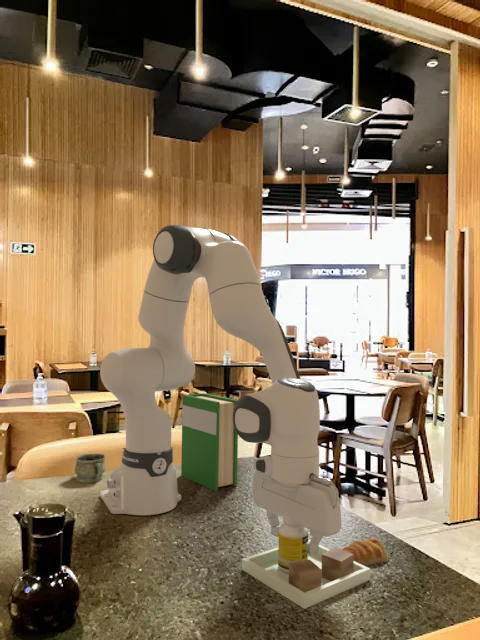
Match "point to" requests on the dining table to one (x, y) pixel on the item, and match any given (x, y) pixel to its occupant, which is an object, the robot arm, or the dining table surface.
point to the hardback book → (209, 440)
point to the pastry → (367, 551)
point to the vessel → (90, 467)
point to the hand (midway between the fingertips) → (293, 543)
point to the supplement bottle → (291, 544)
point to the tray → (272, 576)
